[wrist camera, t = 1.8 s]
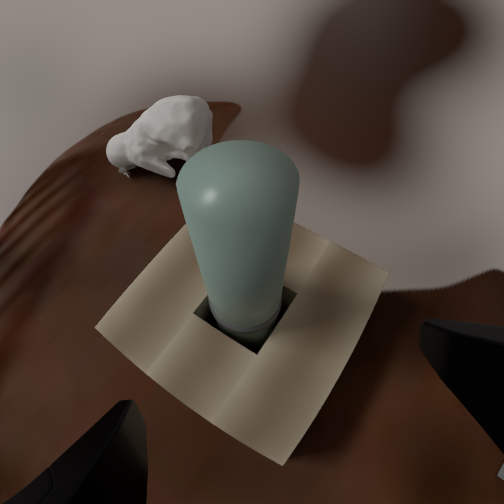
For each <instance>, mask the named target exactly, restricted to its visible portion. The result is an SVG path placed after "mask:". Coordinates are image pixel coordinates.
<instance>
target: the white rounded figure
mask: <svg viewBox="0 0 504 504" xmlns="http://www.w3.org/2000/svg"><path fill="white" fill-rule="evenodd" d="M212 117H213V114H212V112H211V111H210V110H209V106H208V104H207V103H206V102H205V101H204V100H203V99H202V98H200V97H197V96H185V95H178V96H171V97H167V98H164V99H161V100H159V101H157V102H156V103H155V104H154V105H153V106H151V107H150V108H149V109H147V110H146V111H145V112H144V113H143V114H142V115H141V116H140V118H139V119H138V120H136V121H135V122H134V123H133V125H132V126H131V128H129V129H128V130H127V131H126V132H123V133H120V134H118V135H115V136H114V137H112V138H111V139H110V141H109V142H108V144H107V149H106V154H107V157H108V160H109V161H110V163H111V164H113V165H114V166H116V167H119V168H120V169H119V170H120V172H121V173H122V172H124V174H125V175H127V176H128V174H127V172H128V171H127V170H129V169H133V168H135V167H136V166H139V167H143V168H144V169H147V170H149V171H152V172H155V173H158V174H161V175H163V176H166V177H170V178H173V177H174V176H175V170H174V169H173V168H172V167H171V166H170V165H169V164H168V163H167V162H166V161H167V160H171V159H172V158H179V159H183V160H185V161H188V160H189V159H190V158H191V157H192V156H193V155H194V154H196V153H197V152H199V151H201V150H202V149H204V148H206V147H208V146H210V145H211V143H212ZM120 172H119V173H120ZM128 173H129V172H128ZM128 177H129V176H128ZM177 179H178V178H177ZM176 186H177V181H176Z"/></svg>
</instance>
